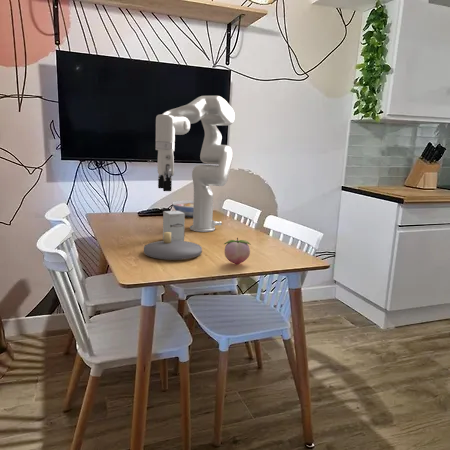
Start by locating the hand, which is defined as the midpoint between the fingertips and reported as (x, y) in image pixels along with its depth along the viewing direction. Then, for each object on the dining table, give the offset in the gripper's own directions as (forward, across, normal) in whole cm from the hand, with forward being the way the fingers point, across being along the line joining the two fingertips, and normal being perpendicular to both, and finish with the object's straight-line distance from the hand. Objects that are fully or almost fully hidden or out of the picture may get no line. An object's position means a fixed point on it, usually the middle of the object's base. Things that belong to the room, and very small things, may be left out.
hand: (164, 189), depth 163 cm
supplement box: (+23, +6, -6) cm, 24 cm away
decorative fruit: (+23, -33, -19) cm, 44 cm away
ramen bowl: (+23, +60, -29) cm, 70 cm away
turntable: (+23, -15, 0) cm, 27 cm away
